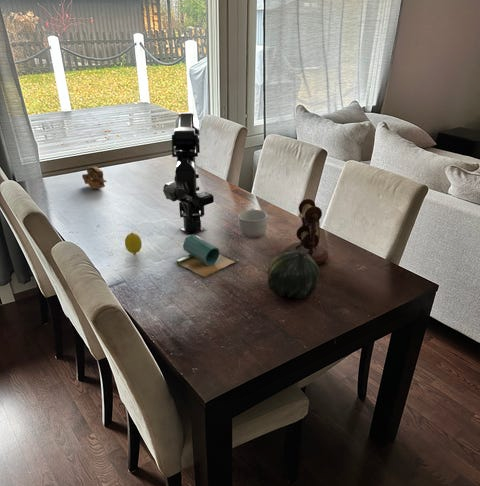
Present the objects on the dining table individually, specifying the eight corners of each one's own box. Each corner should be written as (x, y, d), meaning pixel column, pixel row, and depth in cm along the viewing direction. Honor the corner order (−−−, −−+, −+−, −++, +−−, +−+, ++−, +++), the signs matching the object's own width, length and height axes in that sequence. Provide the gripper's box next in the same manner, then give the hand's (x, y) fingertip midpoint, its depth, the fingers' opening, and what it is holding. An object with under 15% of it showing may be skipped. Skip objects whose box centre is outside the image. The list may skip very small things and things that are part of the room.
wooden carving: (80, 186, 210) (76, 165, 205) (88, 183, 213) (84, 163, 208) (103, 192, 202) (99, 171, 197) (110, 190, 205) (107, 169, 200)
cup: (182, 237, 143) (205, 251, 137) (197, 231, 147) (220, 245, 141) (182, 254, 147) (204, 268, 141) (197, 248, 151) (219, 261, 145)
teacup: (264, 241, 159) (265, 221, 155) (235, 238, 161) (235, 218, 157) (269, 226, 171) (270, 207, 166) (242, 224, 172) (243, 205, 168)
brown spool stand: (333, 267, 143) (341, 209, 132) (290, 270, 141) (294, 212, 130) (319, 247, 155) (325, 193, 145) (279, 250, 153) (282, 195, 143)
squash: (267, 259, 135) (271, 240, 121) (314, 262, 135) (324, 243, 121) (265, 303, 131) (269, 289, 117) (314, 306, 131) (324, 292, 117)
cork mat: (176, 263, 144) (176, 260, 144) (208, 249, 153) (207, 246, 152) (203, 277, 137) (203, 274, 136) (235, 262, 145) (235, 259, 144)
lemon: (145, 251, 151) (143, 230, 147) (137, 258, 147) (134, 237, 143) (131, 249, 153) (129, 228, 149) (123, 256, 149) (120, 234, 144)
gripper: (147, 170, 137) (152, 216, 145) (186, 185, 126) (189, 233, 134) (175, 163, 144) (178, 207, 152) (214, 176, 133) (215, 223, 141)
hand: (189, 217), depth 145 cm, fingers closed
